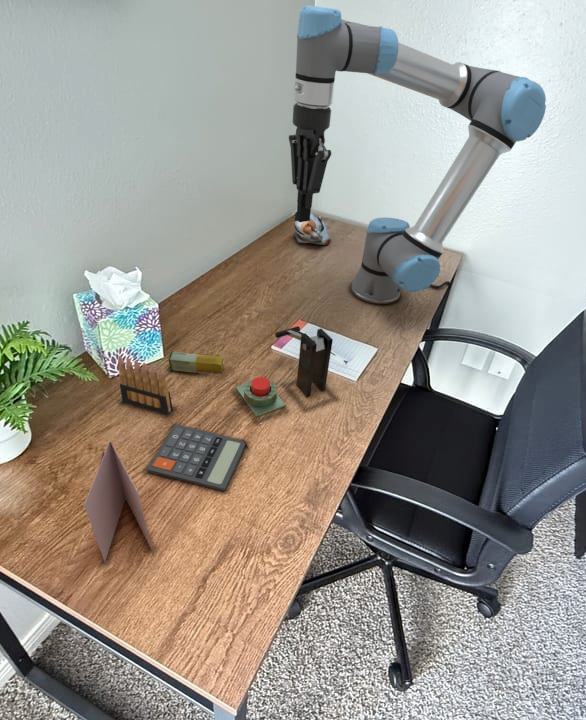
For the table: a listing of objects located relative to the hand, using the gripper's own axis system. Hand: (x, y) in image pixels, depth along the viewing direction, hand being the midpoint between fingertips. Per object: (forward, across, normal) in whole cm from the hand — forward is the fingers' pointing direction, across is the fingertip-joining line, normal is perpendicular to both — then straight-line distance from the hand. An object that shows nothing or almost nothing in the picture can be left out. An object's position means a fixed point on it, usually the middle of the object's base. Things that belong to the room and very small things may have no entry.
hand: (303, 220), depth 106 cm
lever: (+20, +18, -10) cm, 29 cm away
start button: (+27, +21, -21) cm, 40 cm away
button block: (+30, +21, -21) cm, 42 cm away
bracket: (+30, +23, -10) cm, 39 cm away
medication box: (+31, +5, -29) cm, 43 cm away
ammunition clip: (+31, +11, -42) cm, 53 cm away
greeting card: (+31, +37, -53) cm, 72 cm away
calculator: (+30, +29, -39) cm, 57 cm away
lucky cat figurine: (+31, -45, +34) cm, 64 cm away
